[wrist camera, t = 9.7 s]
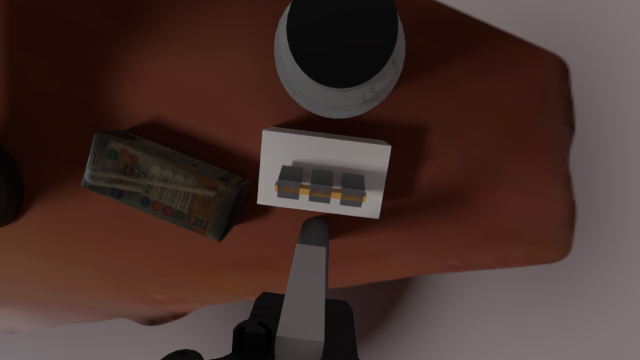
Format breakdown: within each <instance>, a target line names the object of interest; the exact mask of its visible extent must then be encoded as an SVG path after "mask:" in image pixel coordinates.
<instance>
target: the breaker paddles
mask: <svg viewBox="0 0 640 360" xmlns="http://www.w3.org/2000/svg"><path fill="white" fill-rule="evenodd" d="M333 172H334V171H327V170H319V169H313V170H312V176H311V182H310V185H304V184H302V176H303V168H302V167H294V166H286V165H282V168H281V171H280V174H279V177H278V181H276V183H275V191H277V197H279V198H287V199H295V200H299V196H300V194H302V195H309V201H311V202H319V203H327V204H330V200H331V198H334V199H340V205H343V206H351V207H360V208H361V206H362V202H365V201H366V197H367V196H366V192H365V183H364V175H359V174H351V173H343V176H342V182H341V188H340V189H336V188H332V187H333Z"/></svg>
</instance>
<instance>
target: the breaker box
mask: <svg viewBox="0 0 640 360" xmlns="http://www.w3.org/2000/svg"><path fill="white" fill-rule="evenodd" d="M390 152H391V145H389V144H388V143H386V142H385V141H383V140H377V139H369V138H361V137H353V136H345V135H336V134H328V133H320V132H312V131H304V130H296V129H288V128H280V127H270V128H267V129H265V130H263V133H262V146H261V160H260V173H259V186H258V199H257V204H262V205H271V206H279V207H287V208H295V209H303V210H311V211H319V212H327V213H335V214H343V215H351V216H359V217H367V218H375V219H379V215H380V209H381V203H382V198H383V192H384V186H385V180H386V175H387V169H388V163H389V158H390ZM282 165H286V166H294V167H302V168H303V176H302V184H304V185H310V182H311V176H312V170H313V169H319V170H327V171H334V172H333V187H332V188H336V189H340V188H341V182H342V176H343V173H351V174H359V175H364V183H365V192H366V196H367V197H366V201H365V202H362V206H361V208H360V207H351V206H343V205H340V199H334V198H331V200H330V204H327V203H319V202H311V201H309V195H302V194H300V196H299V200H295V199H287V198H279V197H277V191H275V183H276V181H278V177H279V174H280V171H281V168H282Z"/></svg>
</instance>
